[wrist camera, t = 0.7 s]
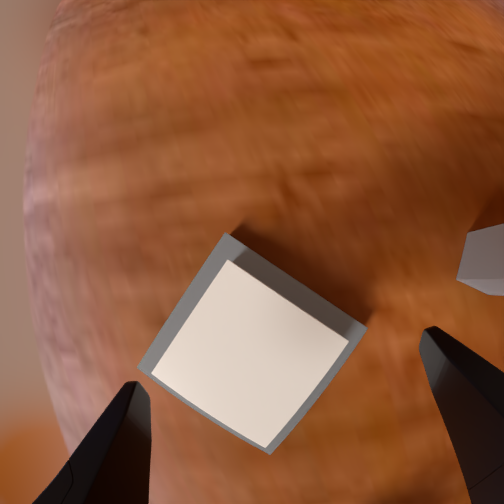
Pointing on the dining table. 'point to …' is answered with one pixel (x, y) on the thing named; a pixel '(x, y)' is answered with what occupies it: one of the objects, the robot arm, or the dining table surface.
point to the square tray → (278, 282)
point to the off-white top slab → (248, 355)
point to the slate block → (484, 260)
